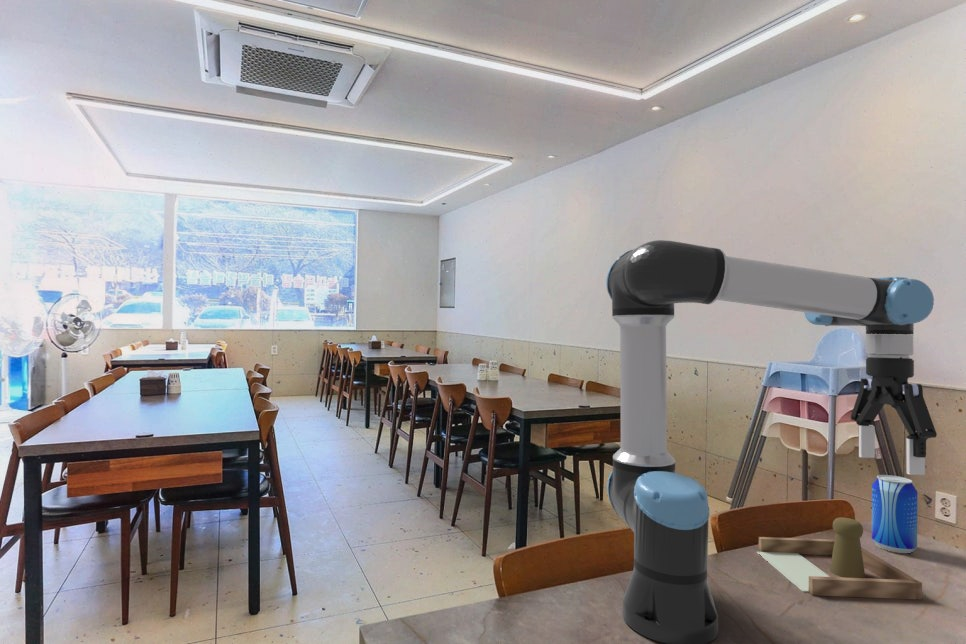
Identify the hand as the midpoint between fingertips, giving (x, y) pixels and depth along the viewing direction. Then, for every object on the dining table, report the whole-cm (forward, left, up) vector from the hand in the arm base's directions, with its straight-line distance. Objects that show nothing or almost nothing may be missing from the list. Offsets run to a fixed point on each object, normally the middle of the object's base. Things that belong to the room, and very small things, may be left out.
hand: (889, 465), depth 105 cm
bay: (-7, +6, -24) cm, 25 cm away
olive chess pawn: (-4, +6, -24) cm, 25 cm away
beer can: (+16, +21, -24) cm, 35 cm away
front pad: (-14, +6, -24) cm, 28 cm away
